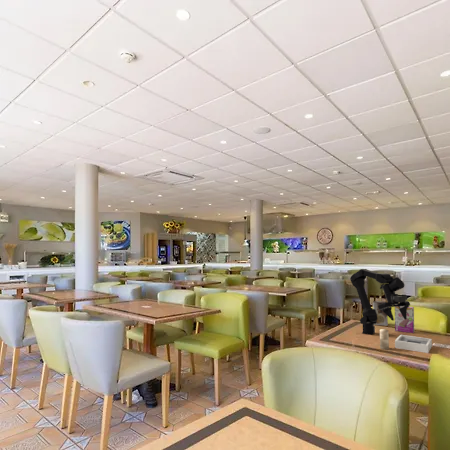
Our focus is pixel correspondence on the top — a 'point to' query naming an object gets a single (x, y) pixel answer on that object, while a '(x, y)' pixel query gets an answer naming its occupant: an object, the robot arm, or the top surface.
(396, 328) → the candy bar box
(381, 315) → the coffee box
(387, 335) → the peg
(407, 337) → the bore box
